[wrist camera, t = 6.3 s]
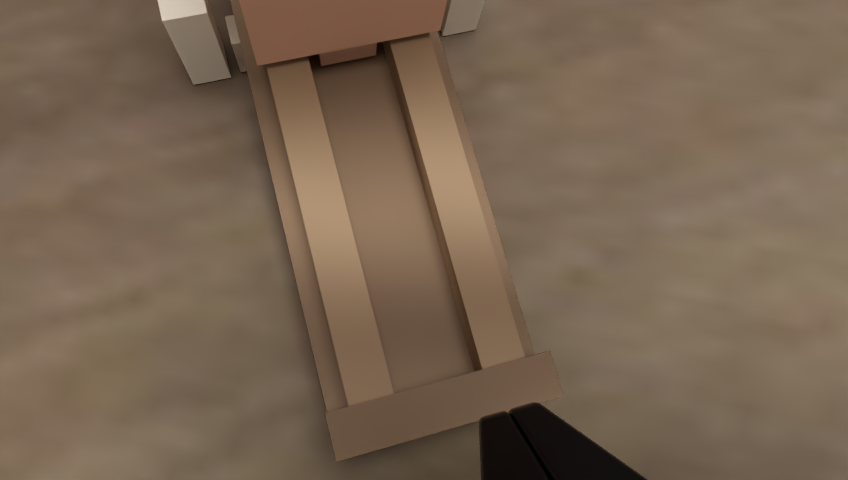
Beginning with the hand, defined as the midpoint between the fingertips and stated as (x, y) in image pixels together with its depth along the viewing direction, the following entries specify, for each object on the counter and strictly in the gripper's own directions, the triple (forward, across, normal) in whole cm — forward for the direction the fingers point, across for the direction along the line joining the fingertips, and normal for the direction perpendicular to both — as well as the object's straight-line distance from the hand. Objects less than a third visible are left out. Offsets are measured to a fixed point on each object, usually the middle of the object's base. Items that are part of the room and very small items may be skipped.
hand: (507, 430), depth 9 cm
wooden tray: (+11, 0, 0) cm, 11 cm away
